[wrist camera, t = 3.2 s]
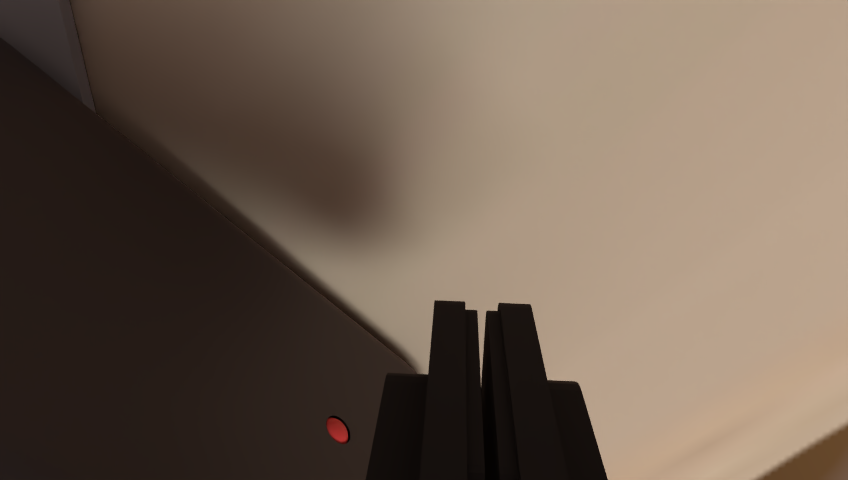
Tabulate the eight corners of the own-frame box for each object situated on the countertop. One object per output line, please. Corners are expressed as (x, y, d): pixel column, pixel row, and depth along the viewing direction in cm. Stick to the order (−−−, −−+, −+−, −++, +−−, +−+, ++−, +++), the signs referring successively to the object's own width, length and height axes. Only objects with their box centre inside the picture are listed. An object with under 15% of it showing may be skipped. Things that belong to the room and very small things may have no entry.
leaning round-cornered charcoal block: (-123, 118, 14) (-982, 328, 6) (-43, -25, 13) (-1033, -39, 4) (355, 458, 19) (287, 860, 10) (453, 381, 17) (470, 773, 9)
